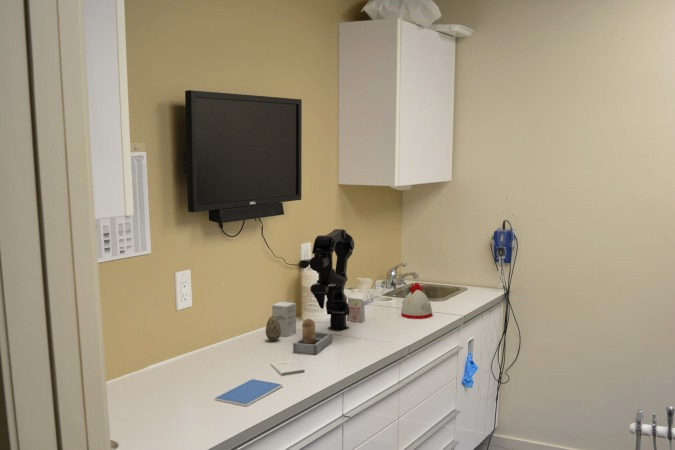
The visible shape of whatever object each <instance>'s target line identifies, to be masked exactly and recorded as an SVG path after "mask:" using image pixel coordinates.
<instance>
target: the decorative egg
mask: <svg viewBox="0 0 675 450" xmlns="http://www.w3.org/2000/svg"><path fill="white" fill-rule="evenodd" d="M280 334H281V328H280V324H279V321H278V319H277V318H276V317H275V316H272V315H271V316H270V317H269V318H268V320H267V322H266V325H265V335H266V338H267V339H268V340H269V341H272V342H276V341H277V340H279V338H280V337H281V335H280Z"/></svg>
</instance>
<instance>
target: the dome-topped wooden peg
mask: <svg viewBox="0 0 675 450" xmlns="http://www.w3.org/2000/svg"><path fill="white" fill-rule="evenodd" d="M301 326H302V328H301V329H302V331H301V332H302V333H301V336H302V337H303V344H313V345H315V344H316V340H315V332H316V323H315V321H314V320H312V319H311V318H307V319H305V320H303V322H302V324H301Z"/></svg>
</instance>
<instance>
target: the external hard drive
mask: <svg viewBox="0 0 675 450" xmlns="http://www.w3.org/2000/svg"><path fill="white" fill-rule="evenodd" d="M270 366H271V367H272V368H273V369H274V370H275V371H276V373H278V374H279V375H280V376H281V377H284V376H290V375H297V374H304V373H305V371H306V370H305V369H304V368H303V367H302V366H301V365H299V364H298V363H297V362H295V361H294V360H293V359H288V360H287V359H286V360H282V361H274V362H270Z"/></svg>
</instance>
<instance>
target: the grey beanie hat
mask: <svg viewBox="0 0 675 450" xmlns="http://www.w3.org/2000/svg"><path fill="white" fill-rule="evenodd" d="M423 288H424V287H423V286H422V284H419V282H414V284H413V283H411V286H410V287H409V291H410V292H409V293H408V294H407V295H406V296H405V298H404V299H402V305H401V311H400V313H401V314H400V315H401V317H402V318H406V319H411V320H423V319H424V320H425V319H429V318H432V317H433V309H432V306H431V301H430V300H429V298H428V296H427V295H426V293H424V292H423Z"/></svg>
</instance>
